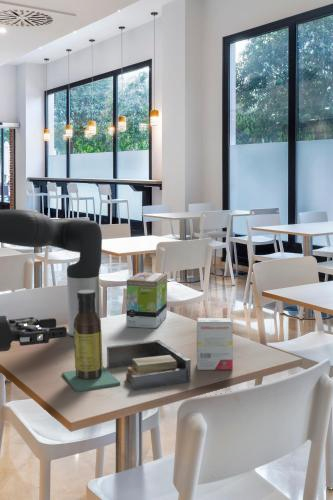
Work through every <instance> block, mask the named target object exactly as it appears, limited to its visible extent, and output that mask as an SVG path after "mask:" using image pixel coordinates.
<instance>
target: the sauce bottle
mask: <svg viewBox="0 0 333 500" xmlns="http://www.w3.org/2000/svg"><path fill="white" fill-rule="evenodd" d="M77 298H78V304H79V308H78V310H79V313H78V314H77V316H76V317H75V320H74V337H73V343H74V368H75V370H76V376H78V377H79V378H81V379H95V378H98V377H100V376H101V375H102V367H104V365H103V363H104V362H103V343H102V339H103V335H102V334H103V333H102V323H101V321H102V320H101V317H100V318H99V316H98V314H97V313H96V311H95V291H94V290H80V291H78V292H77Z"/></svg>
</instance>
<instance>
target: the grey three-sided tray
mask: <svg viewBox="0 0 333 500" xmlns="http://www.w3.org/2000/svg"><path fill="white" fill-rule="evenodd" d="M165 355H170V356H171V357H173V358H174V359H175V360H176V361H177V369H171V370H165V371H158V372H152V373H145V374H139V375H132V384H131V390H132V391H133V392H134V391H141V390H147V389H151V388H158V387H164V386H170V385H176V384H182V383H183V384H184V383H187V382H191V376H192V374H191V368H192V367H191V364H192V363H191V362H192V361H191V359H190V358H189V357H187V356H185V355H183V354H182V353H180V352H179V351H178V350H176V349H174V348H173V347H171V346H169V345H168V344H167V343H164V342H163V341H161V340H160V339H154V340H148V341H140V342H133V343H125V344H117V345H112V346H111V345H110V346H109V345H107V346H106V367H107V368H108V369H111V368H119V367H127V366H133V359H136V358H146V357H155V356H165Z"/></svg>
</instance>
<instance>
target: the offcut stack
mask: <svg viewBox="0 0 333 500" xmlns="http://www.w3.org/2000/svg"><path fill="white" fill-rule="evenodd" d="M171 369H177V361H176V360H175V359H174V358H173V357H171V356H170V355H165V356H155V357H146V358H136V359H133V365H132V366H127V372H125V379H126V381H127V382H129V383H130V384H131V385H132V375H139V374H145V373H152V372H158V371H165V370H171Z"/></svg>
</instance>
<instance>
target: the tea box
mask: <svg viewBox="0 0 333 500" xmlns="http://www.w3.org/2000/svg"><path fill="white" fill-rule="evenodd" d="M167 305H168V273H159V272H158V273H157V272H155V273H154V272H138V273H136V274H134V275H133V276H130V277H129V278H127V279H126V309H125V310H126V311H125V312H126V315H125V317H126V318H125V322H126V323H125V325H126V327H130V328H141V329H142V328H144V329H145V328H146V329H156V328H157V327H158V326H160V324H161V323H162V322H164V320H166V318H167V315H168V314H167V311H168V309H167V307H168V306H167Z"/></svg>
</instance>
